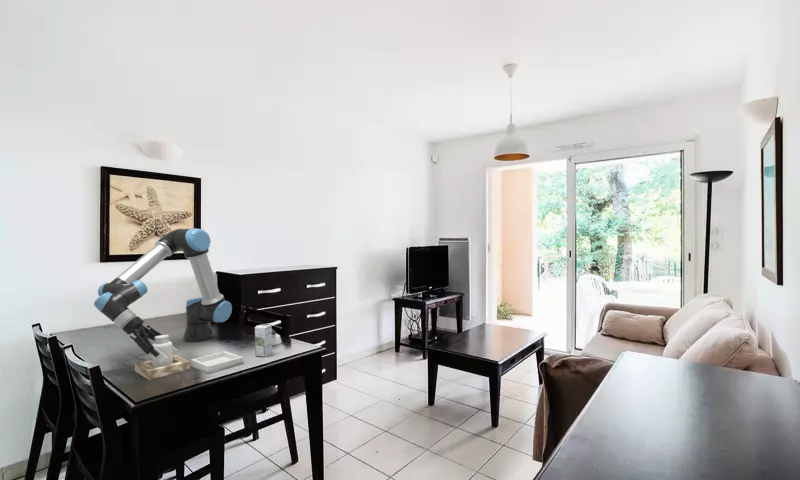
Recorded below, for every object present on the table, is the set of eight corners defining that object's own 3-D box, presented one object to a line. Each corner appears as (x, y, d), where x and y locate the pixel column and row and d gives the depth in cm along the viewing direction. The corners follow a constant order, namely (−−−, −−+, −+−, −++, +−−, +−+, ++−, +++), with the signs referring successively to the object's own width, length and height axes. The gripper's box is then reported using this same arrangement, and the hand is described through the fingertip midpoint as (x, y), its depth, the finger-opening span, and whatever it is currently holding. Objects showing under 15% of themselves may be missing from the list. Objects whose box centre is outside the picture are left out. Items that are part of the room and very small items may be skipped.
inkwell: (282, 340, 219) (281, 322, 218) (280, 349, 201) (280, 330, 201) (264, 341, 216) (264, 323, 216) (261, 351, 199) (261, 331, 199)
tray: (225, 357, 189) (225, 351, 189) (243, 363, 179) (243, 357, 179) (190, 366, 177) (190, 359, 177) (207, 373, 167) (207, 366, 167)
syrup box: (272, 354, 194) (272, 324, 193) (264, 357, 188) (264, 327, 188) (262, 353, 196) (262, 323, 195) (254, 356, 190) (254, 326, 190)
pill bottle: (157, 367, 175) (157, 334, 175) (176, 367, 176) (176, 333, 176) (148, 374, 167) (147, 338, 167) (167, 373, 168) (167, 338, 168)
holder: (174, 362, 183) (174, 354, 183) (190, 369, 173) (189, 361, 173) (135, 371, 170) (134, 363, 170) (149, 380, 160) (148, 371, 160)
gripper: (135, 322, 180) (173, 354, 183) (108, 335, 157) (151, 371, 160) (148, 310, 180) (185, 342, 183) (122, 321, 158) (165, 357, 161)
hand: (170, 356), depth 172 cm, fingers open, 10 cm apart
